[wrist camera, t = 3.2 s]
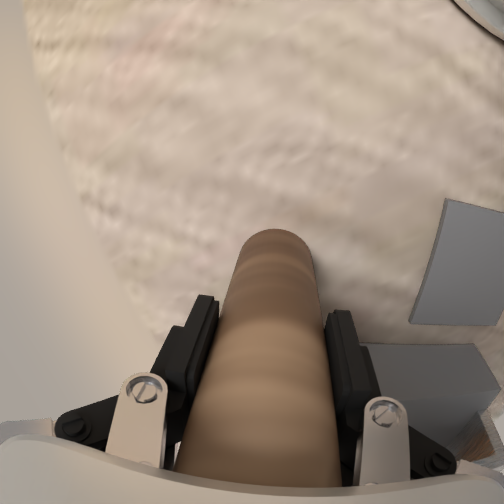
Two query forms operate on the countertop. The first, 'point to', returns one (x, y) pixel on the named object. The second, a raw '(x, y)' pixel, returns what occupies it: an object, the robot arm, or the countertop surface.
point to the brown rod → (266, 377)
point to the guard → (479, 442)
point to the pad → (464, 269)
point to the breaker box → (435, 384)
